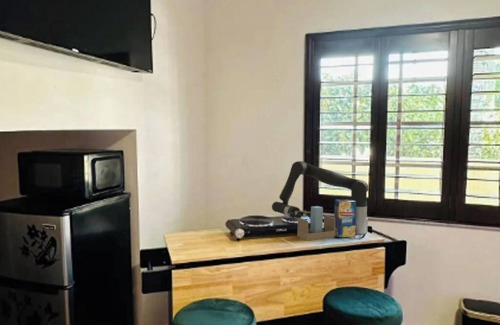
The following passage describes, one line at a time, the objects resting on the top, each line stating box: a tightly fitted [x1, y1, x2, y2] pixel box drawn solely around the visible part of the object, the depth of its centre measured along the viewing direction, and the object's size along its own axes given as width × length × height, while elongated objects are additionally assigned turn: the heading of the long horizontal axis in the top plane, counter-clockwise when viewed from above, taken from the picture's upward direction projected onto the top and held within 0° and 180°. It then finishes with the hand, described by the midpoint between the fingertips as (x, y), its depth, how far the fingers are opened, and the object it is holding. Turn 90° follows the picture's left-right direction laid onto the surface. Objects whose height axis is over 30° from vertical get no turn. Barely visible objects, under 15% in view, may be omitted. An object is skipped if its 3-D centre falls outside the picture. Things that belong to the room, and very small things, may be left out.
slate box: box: [309, 205, 324, 233], centre depth 225 cm, size 5×5×18 cm
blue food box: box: [333, 199, 356, 238], centre depth 229 cm, size 7×11×22 cm, turn 100°
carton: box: [296, 214, 336, 242], centre depth 225 cm, size 20×10×12 cm, turn 116°
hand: (306, 216), depth 234 cm, fingers open, 8 cm apart
